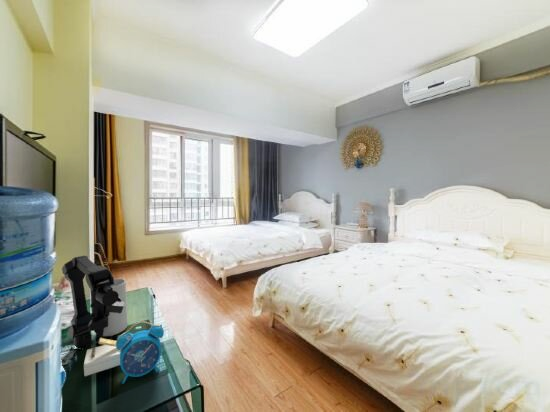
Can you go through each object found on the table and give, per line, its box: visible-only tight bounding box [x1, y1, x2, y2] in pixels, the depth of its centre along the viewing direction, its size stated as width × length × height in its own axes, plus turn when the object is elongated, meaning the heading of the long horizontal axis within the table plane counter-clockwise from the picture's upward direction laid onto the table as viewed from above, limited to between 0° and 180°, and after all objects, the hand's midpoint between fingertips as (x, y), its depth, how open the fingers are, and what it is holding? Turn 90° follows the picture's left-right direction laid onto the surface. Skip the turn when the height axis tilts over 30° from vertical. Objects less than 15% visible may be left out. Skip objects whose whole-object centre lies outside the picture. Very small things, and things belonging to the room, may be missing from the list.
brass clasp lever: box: [97, 337, 117, 347], centre depth 103 cm, size 10×3×1 cm, turn 124°
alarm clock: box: [116, 320, 165, 385], centre depth 96 cm, size 17×10×20 cm, turn 120°
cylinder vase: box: [101, 278, 128, 337], centre depth 125 cm, size 12×12×25 cm
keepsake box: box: [83, 344, 121, 377], centre depth 102 cm, size 15×10×7 cm
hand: (101, 334), depth 101 cm, fingers open, 3 cm apart
